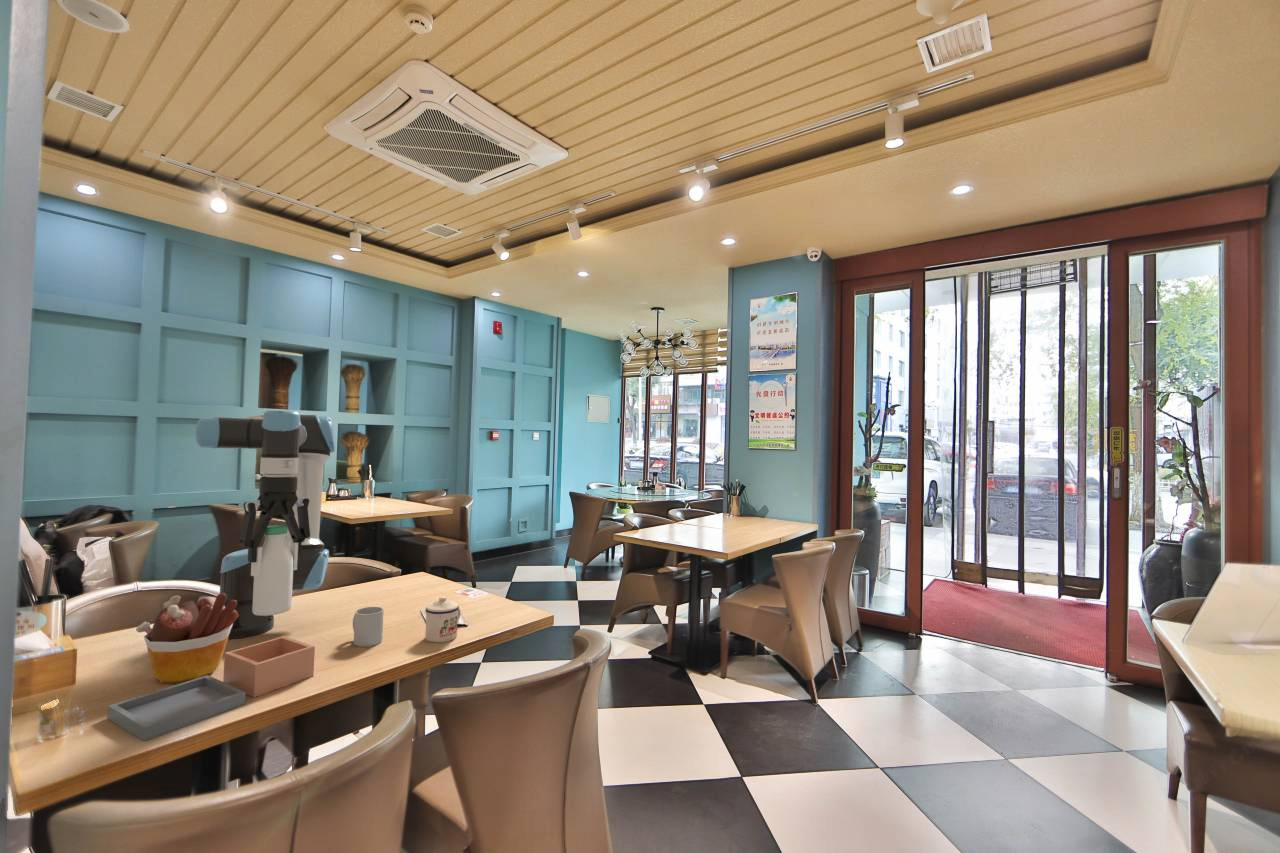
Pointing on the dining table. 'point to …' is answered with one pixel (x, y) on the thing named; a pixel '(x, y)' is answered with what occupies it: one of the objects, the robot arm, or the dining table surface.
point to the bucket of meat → (189, 637)
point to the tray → (175, 706)
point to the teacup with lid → (442, 620)
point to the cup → (368, 626)
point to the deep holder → (268, 665)
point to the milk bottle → (274, 575)
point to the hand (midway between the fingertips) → (274, 572)
